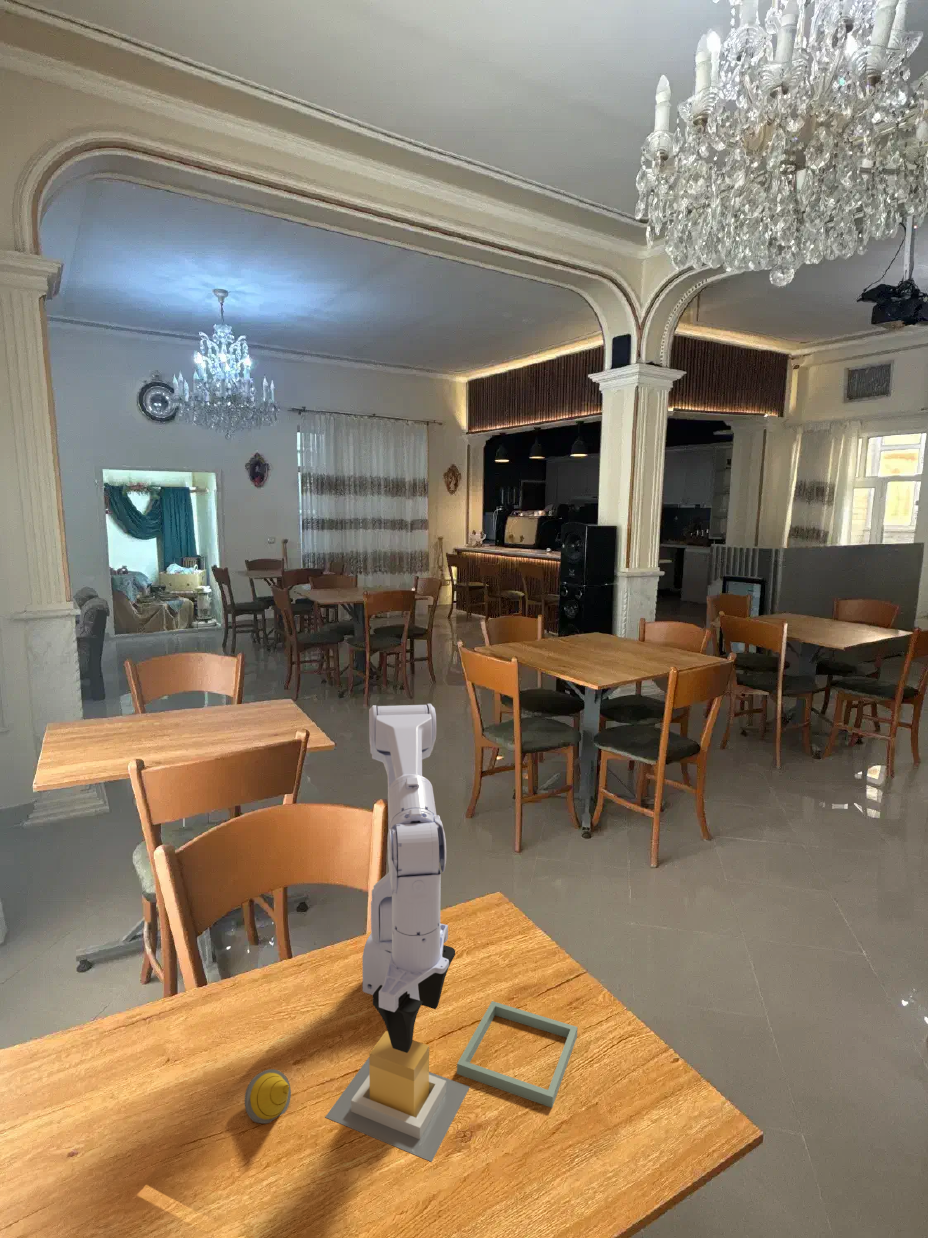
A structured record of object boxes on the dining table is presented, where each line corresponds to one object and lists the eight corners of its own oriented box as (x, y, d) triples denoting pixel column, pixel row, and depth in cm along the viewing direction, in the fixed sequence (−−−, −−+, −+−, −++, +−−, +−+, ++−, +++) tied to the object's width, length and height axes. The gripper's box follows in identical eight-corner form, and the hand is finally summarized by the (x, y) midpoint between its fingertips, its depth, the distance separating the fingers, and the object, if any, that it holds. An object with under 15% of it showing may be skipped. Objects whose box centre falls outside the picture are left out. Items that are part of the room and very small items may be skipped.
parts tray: (456, 1079, 87) (457, 1064, 86) (491, 1015, 98) (491, 1001, 98) (552, 1113, 82) (552, 1097, 81) (577, 1041, 93) (577, 1027, 93)
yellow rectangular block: (369, 1105, 82) (369, 1053, 81) (386, 1081, 85) (386, 1031, 84) (413, 1123, 79) (414, 1070, 78) (428, 1097, 83) (429, 1045, 82)
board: (325, 1123, 80) (324, 1106, 80) (372, 1057, 90) (372, 1041, 90) (431, 1168, 75) (431, 1149, 74) (469, 1092, 85) (470, 1076, 84)
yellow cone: (287, 1089, 85) (318, 1073, 79) (264, 1137, 81) (296, 1125, 75) (252, 1066, 85) (281, 1049, 79) (227, 1113, 81) (256, 1099, 75)
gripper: (419, 966, 72) (419, 1081, 73) (470, 898, 85) (469, 997, 87) (361, 950, 74) (362, 1061, 76) (420, 886, 88) (419, 982, 89)
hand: (415, 1026), depth 82 cm, fingers open, 7 cm apart
